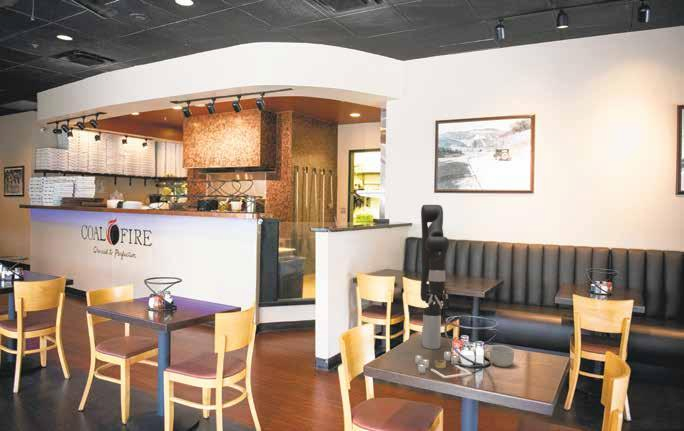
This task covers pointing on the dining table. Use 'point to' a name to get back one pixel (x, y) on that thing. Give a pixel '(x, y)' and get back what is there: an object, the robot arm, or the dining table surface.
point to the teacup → (500, 355)
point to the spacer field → (424, 363)
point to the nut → (440, 363)
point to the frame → (453, 375)
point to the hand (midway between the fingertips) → (436, 314)
